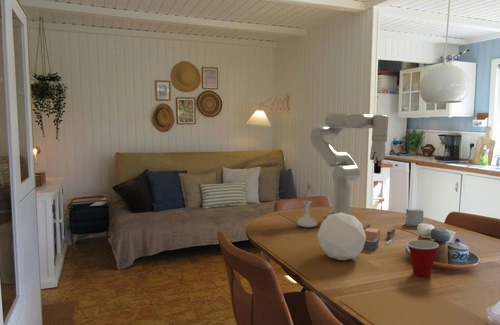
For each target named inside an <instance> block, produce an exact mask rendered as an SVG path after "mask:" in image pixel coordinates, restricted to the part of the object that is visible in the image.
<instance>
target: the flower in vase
mask: <svg viewBox="0 0 500 325" xmlns="http://www.w3.org/2000/svg"><path fill="white" fill-rule="evenodd" d="M304 185H305V187H306V190H305V193H303V197H304V198H305V200H303V201H302V203H303V205H304V210H305V211H304V215H303V216H302V217H300V218H299V219H298V220H297V221H296V224H297V226H298V227H302V228H315V227H316V226H317V225H318V221H317V220H316V219H315V218H314V217H312V216H311V214H310V208H311V204H312V203H313V201H311V200H308V199H309V198H311V195H309V196H308V197H307V191H309V192H310V193H313V194H314V192H315V188H314V185H313V184H311V182H310V181H308V180H305V181H304Z"/></svg>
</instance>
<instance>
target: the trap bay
mask: <svg viewBox="0 0 500 325" xmlns="http://www.w3.org/2000/svg"><path fill="white" fill-rule="evenodd" d="M379 242H380V240H379V239H375V240H374V241H368V240H365V243H364V247H363V249H362V250H365V251H370V250H371V252H376V250H377V249H379Z"/></svg>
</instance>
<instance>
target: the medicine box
mask: <svg viewBox="0 0 500 325" xmlns="http://www.w3.org/2000/svg"><path fill="white" fill-rule="evenodd" d="M405 212H406V213H405V225H407V227H413V226H414V227H418V226H417V225H418V224H420V223H423V224H424V210H423V209H422V208H421V209H420V208H406V209H405Z"/></svg>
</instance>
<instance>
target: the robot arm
mask: <svg viewBox="0 0 500 325" xmlns="http://www.w3.org/2000/svg"><path fill="white" fill-rule="evenodd" d="M324 123H325V125H318V126H315V127H313V128H312V129H311V130H310V131H309V132H310V134H309V139H310V143H311V145H312V146H313V147H314V148H315V150H316V151H317V152H318V153H319V155H320V157H321V159H323V161H324V162H325V163H326V165H327V167H329V168H333V170H332V173H331V176H332V181H333V210H331V209H327V210H326V212H327V215H332V214H336V213H340V212H342V213H345V214H348V215H351V186H350V184H349V182H352V181H356V180H358V179H359V178H360V177H361V170H360V168H359V165H357V163H356V162H355V161H354V159H353V158H352V157H351V155H350V154H349V153H347V151H337V150H335V149H334V148H333V146H332V145H331V143H329V142H327V141H328V140H329V141H330V140H335V139H336V138H337V137H338V136H339V135H340V134H341V132H342V131H343V130H344V129H372V130H371V147H370V155H369V156H370V157H369V159H370V161H372V163H373V174H381V173H382V162H383V160H385V158H386V143H387V141H388V131H389V128H388V127H389V116H388V115H386V114H374V113H373V114H372V113H371V114H370V113H349V112H347V113H346V112H345V113H344V112H341V113H340V112H339V113H338V112H337V113H336V112H335V113H334V112H333V113H329V114H327V115H326V116H325V118H324Z"/></svg>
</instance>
